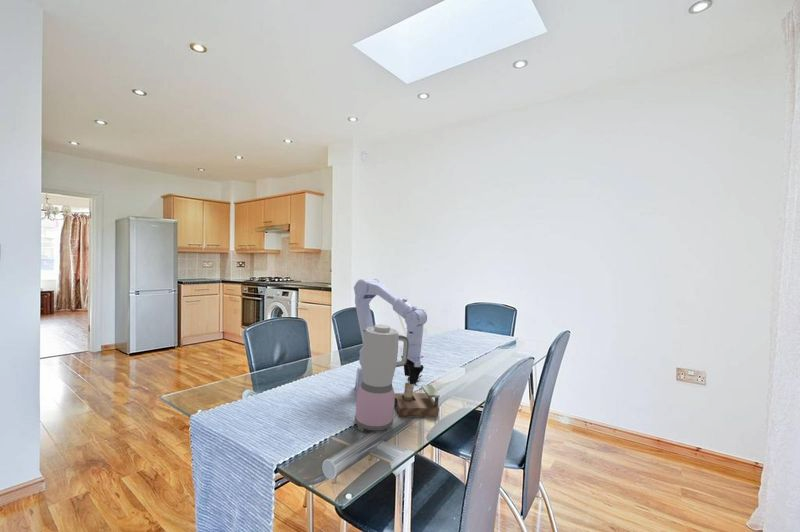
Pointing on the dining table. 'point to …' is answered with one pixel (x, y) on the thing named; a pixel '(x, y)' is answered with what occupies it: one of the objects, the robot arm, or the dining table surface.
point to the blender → (379, 377)
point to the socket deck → (419, 403)
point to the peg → (408, 392)
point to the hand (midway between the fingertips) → (410, 379)
